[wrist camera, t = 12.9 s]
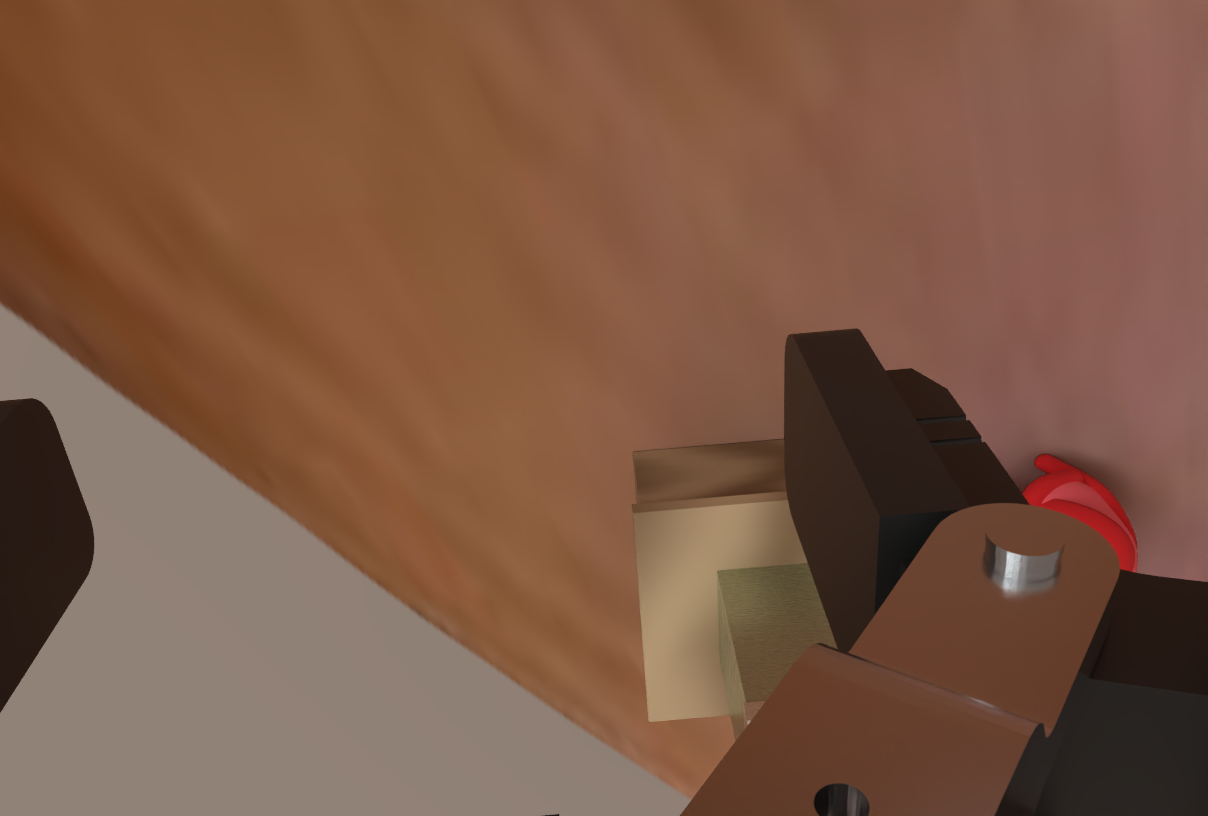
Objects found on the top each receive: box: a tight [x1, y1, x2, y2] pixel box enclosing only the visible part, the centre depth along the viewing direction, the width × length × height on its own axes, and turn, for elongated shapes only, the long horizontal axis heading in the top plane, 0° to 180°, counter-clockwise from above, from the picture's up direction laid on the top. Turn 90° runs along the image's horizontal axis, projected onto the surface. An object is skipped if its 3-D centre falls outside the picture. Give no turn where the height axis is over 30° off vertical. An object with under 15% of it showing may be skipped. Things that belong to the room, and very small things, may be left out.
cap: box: [1022, 454, 1138, 573], centre depth 44 cm, size 8×6×6 cm
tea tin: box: [717, 563, 838, 740], centre depth 39 cm, size 5×5×8 cm
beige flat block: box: [632, 439, 808, 722], centre depth 45 cm, size 11×11×5 cm
